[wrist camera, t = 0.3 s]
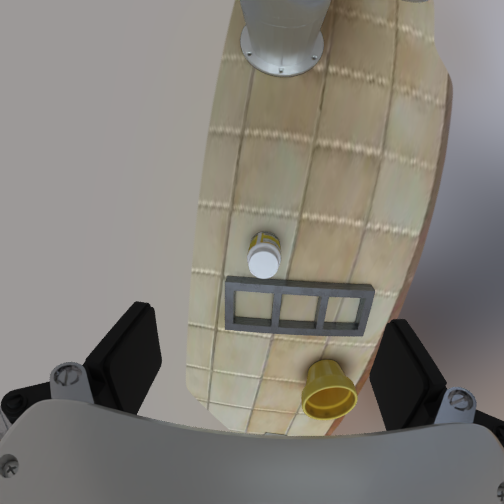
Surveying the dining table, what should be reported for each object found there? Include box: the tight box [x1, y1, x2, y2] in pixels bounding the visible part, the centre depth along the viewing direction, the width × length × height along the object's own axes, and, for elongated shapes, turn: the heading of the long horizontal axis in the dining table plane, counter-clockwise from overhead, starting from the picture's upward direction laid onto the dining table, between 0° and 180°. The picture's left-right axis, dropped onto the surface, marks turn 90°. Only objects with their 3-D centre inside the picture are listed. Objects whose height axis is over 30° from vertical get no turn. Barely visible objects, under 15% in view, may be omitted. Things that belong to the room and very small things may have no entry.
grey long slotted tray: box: [225, 276, 375, 336], centre depth 48 cm, size 9×25×2 cm, turn 88°
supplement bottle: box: [247, 232, 281, 279], centre depth 42 cm, size 5×5×8 cm
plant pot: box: [302, 360, 358, 420], centre depth 49 cm, size 10×10×10 cm
